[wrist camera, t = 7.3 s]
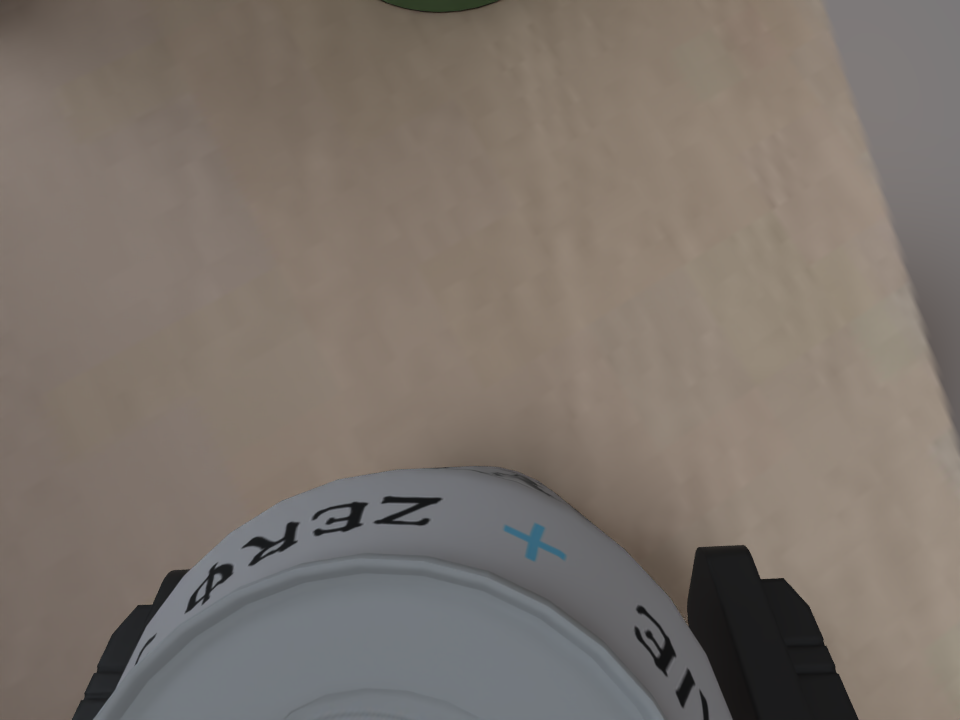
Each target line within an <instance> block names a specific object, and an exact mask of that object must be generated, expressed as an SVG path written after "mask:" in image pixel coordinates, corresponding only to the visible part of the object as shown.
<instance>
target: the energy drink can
mask: <svg viewBox="0 0 960 720" xmlns="http://www.w3.org/2000/svg"><path fill="white" fill-rule="evenodd" d="M93 720H733V719H732V716H731V714H730V711H729V709H728V707H727V704H726V702H725V699H724V697H723V694H722V692H721V689H720V687H719V684H718V682H717V679H716V677H715V674H714V672H713V670H712V667H711V665H710V662H709V660H708V657H707V655H706V653H705V652H704V650H703V648H702V647H701V645H700V644H699V642H698V641H697V639H696V638H695V636H694V634H693V633H692V631H691V630H690V628H689V627H688V625H687V624H686V622H685V620H684V619H683V617H682V616H681V614H680V613H679V611H678V610H677V608H676V606H675V605H674V603H673V602H672V600H671V599H670V597H669V596H668V595H667V594H666V593H665V592H664V591H663V590H662V589H661V588H660V587H659V585H658V584H657V583H656V582H655V581H654V580H653V579H652V578H651V577H650V576H649V575H648V574H647V573H646V572H645V571H644V570H643V568H642V567H641V566H640V565H639V564H638V563H637V562H636V561H635V560H634V559H633V558H632V557H631V556H630V555H629V554H628V552H627V551H626V550H625V549H623V548H622V547H621V546H620V545H619V544H617V543H616V542H615V541H614V540H612V539H611V538H610V537H609V536H607V535H606V534H605V533H604V532H603V531H601V530H600V529H599V528H598V527H596V526H595V525H594V524H593V523H591V522H590V521H589V520H588V519H587V518H585V517H584V516H583V515H582V514H580V513H579V512H578V511H577V510H575V509H574V508H573V507H572V506H571V505H569V504H568V503H567V502H566V501H564V500H563V499H562V498H561V497H559V496H558V495H557V494H556V493H554V492H553V491H552V490H550V489H549V488H547V487H546V486H545V485H543V484H542V483H540V482H539V481H537V480H535V479H533V478H531V477H529V476H526V475H524V474H522V473H520V472H517V471H513V470H509V469H504V468H500V467H488V466H466V467H444V468H422V469H400V470H392V471H386V472H380V473H374V474H368V475H362V476H356V477H350V478H344V479H338V480H335V481H333V482H330V483H327V484H325V485H322V486H320V487H317V488H314V489H312V490H309V491H306V492H304V493H301V494H298V495H296V496H293V497H290V498H288V499H285V500H283V501H281V502H279V503H277V504H276V505H274V506H273V507H271V508H269V509H268V510H266V511H265V512H263V513H261V514H260V515H258V516H257V517H255V518H253V519H252V520H250V521H249V522H247V523H245V524H244V525H242V526H241V527H239V528H237V529H236V530H234V531H233V532H231V533H230V534H228V535H227V536H226V537H225V538H224V539H223V540H222V541H221V542H220V543H219V544H218V545H217V546H215V547H214V548H213V549H212V550H211V551H210V552H209V553H208V554H207V555H206V556H205V557H204V558H203V559H201V560H200V561H199V562H198V563H197V564H196V565H195V566H194V567H193V568H192V569H191V570H190V571H188V572H187V573H186V574H185V575H184V576H183V578H182V579H181V580H180V582H179V583H178V585H177V586H176V587H175V589H174V590H173V591H172V593H171V594H170V595H169V597H168V598H167V599H166V601H165V602H164V603H163V605H162V606H161V607H160V609H159V610H158V611H157V613H156V614H155V616H154V617H153V618H152V620H151V621H150V622H149V624H148V625H147V626H146V628H145V630H144V632H143V634H142V636H141V638H140V640H139V642H138V644H137V646H136V648H135V650H134V652H133V655H132V657H131V659H130V661H129V663H128V665H127V667H126V669H125V671H124V673H123V675H122V677H121V679H120V681H119V683H118V685H117V687H116V689H115V691H114V692H113V693H112V695H111V696H110V698H109V699H108V700H107V702H106V703H105V704H104V706H103V707H102V708H101V710H100V711H99V712H98V714H97V715H96V717H95V718H94V719H93Z"/></svg>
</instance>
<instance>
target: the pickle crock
mask: <svg viewBox="0 0 960 720" xmlns="http://www.w3.org/2000/svg"><path fill="white" fill-rule="evenodd" d="M382 1H385V2H387V3H390V4H393V5H397V6H400V7H403V8H408V9H414V10H419V11H432V12H447V11H460V10H465V9H471V8H476V7H480V6H483V5H486V4H489V3H493V2H496V1H498V0H382Z"/></svg>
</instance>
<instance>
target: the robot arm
mask: <svg viewBox="0 0 960 720" xmlns="http://www.w3.org/2000/svg"><path fill="white" fill-rule="evenodd" d="M190 570H191V569H190ZM190 570H173V571H171V572H169V573H168V574H167V575H166V577H165V578H164V580H163V582H162V584H161V586H160V589H159V591H158V593H157V595H156V598H155V600H154V602H153V605H138V606H137V607H136V608H135V609H134V610H133V611H132V613H131V614H130V615H129V616H128V617H127V618H126V619H125V620H124V622H123V623H122V624H121V625H120V626H119V627H118V628H117V630H116V631H115V632H114V633H113V634H112V636H111V638H110V640H109V642H108V645H107V647H106V649H105V651H104V653H103V655H102V657H101V659H100V661H99V664H98V666H97V672H96V673H94V674H93V676H92V678H91V680H90V682H89V685H88V687H87V689H86V691H85V693H84V694H85V698H84V700H81V701H80V704H79V706H78V708H77V710H76V712H75V714H74V716H73V718H72V720H93V719H94V718H95V717H96V715H97V714H98V712H99V711H100V710H101V708H102V707H103V706H104V704H105V703H106V702H107V700H108V699H109V698H110V696H111V695H112V693H113V692H114V691H115V689H116V687H117V685H118V683H119V681H120V679H121V677H122V675H123V673H124V671H125V669H126V667H127V665H128V663H129V661H130V659H131V657H132V655H133V652H134V650H135V648H136V646H137V644H138V642H139V640H140V638H141V636H142V634H143V632H144V630H145V628H146V626H147V625H148V624H149V622H150V621H151V620H152V618H153V617H154V616H155V614H156V613H157V611H158V610H159V609H160V607H161V606H162V605H163V603H164V602H165V601H166V599H167V598H168V597H169V595H170V594H171V593H172V591H173V590H174V589H175V587H176V586H177V585H178V583H179V582H180V580H181V579H182V578H183V576H184V575H185V574H186V573H187V572H188V571H190ZM687 613H688V623H689V628H690V630H691V631H692V633H693V634H694V636H695V638H696V639H697V641H698V642H699V644H700V645H701V647H702V648H703V650H704V652H705V653H706V655H707V657H708V660H709V662H710V665H711V667H712V670H713V672H714V674H715V677H716V679H717V682H718V684H719V687H720V689H721V692H722V694H723V697H724V699H725V702H726V704H727V707H728V709H729V711H730V714H731V716H732V719H733V720H858V717H857V715H856V713H855V710H854V708H853V706H852V703H851V701H850V699H849V697H848V694H847V692H846V690H845V687H844V685H843V683H842V680H841V678H840V676H839V674H837V673H836V670H835V664H834V662H833V660H832V658H831V655H830V653H829V651H828V648H827V646H825V645H824V642H823V640H824V639H823V637H822V635H821V632H820V630H819V628H818V625H817V623H816V621H815V618H814V616H813V614H812V612H811V609H810V607H809V606H808V604H807V603H806V602H805V601H804V600H803V599H802V598H801V597H800V596H799V595H798V594H797V592H796V591H795V590H794V589H793V588H792V587H791V586H790V585H789V584H788V583H787V582H786V580H785V579H784V578H778V579H760V576H759V574H758V571H757V568H756V566H755V563H754V561H753V558H752V556H751V553H750V552H749V550H748V549H747V547H746V546H744V545H735V546H714V547H698V548H697V550H696V553H695V559H694V565H693V571H692V577H691V583H690V589H689V595H688V602H687Z"/></svg>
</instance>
